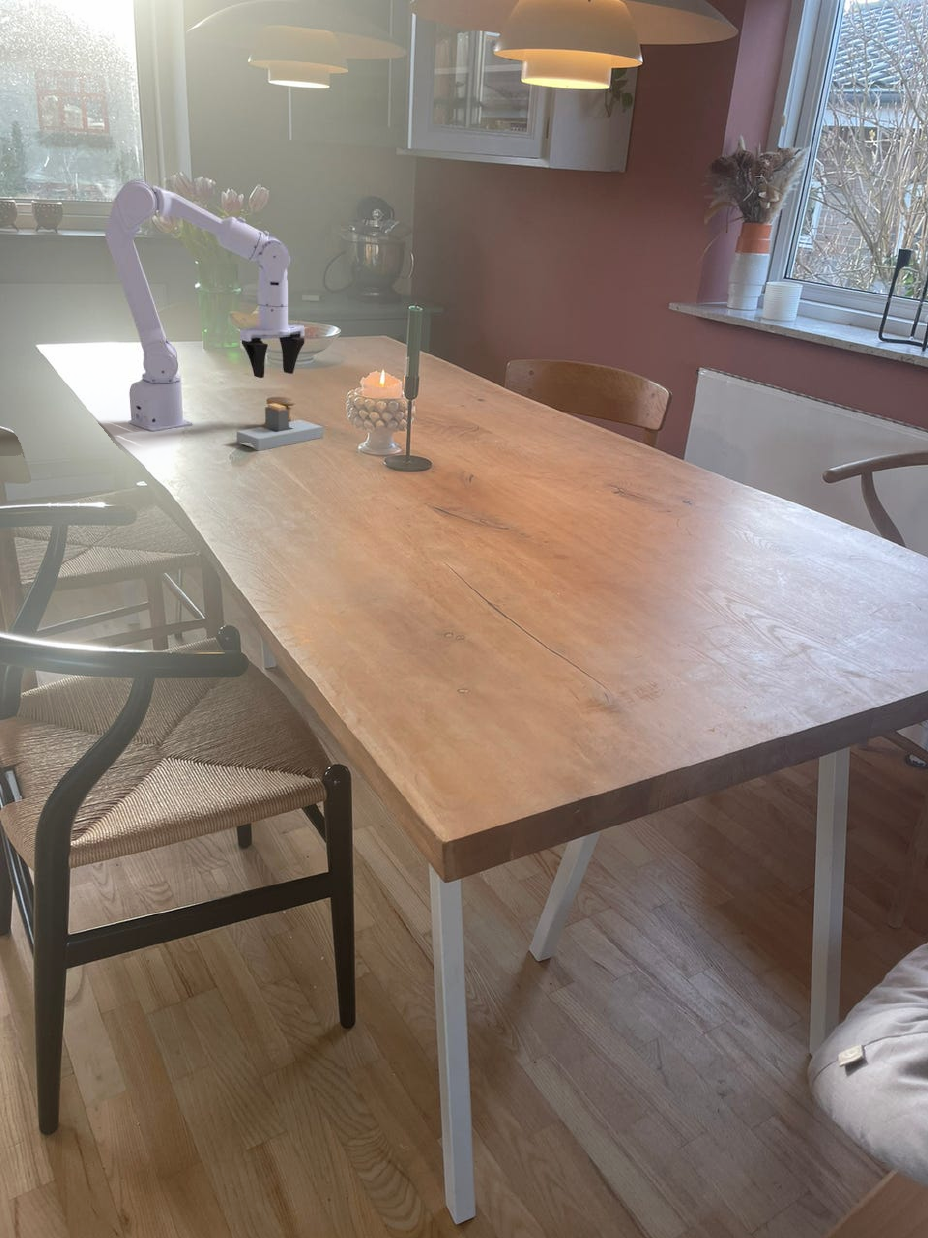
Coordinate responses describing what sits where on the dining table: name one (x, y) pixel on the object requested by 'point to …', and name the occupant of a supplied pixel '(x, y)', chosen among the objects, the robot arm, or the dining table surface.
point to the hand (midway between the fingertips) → (273, 374)
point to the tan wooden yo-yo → (282, 403)
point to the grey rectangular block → (276, 417)
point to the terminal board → (280, 435)
